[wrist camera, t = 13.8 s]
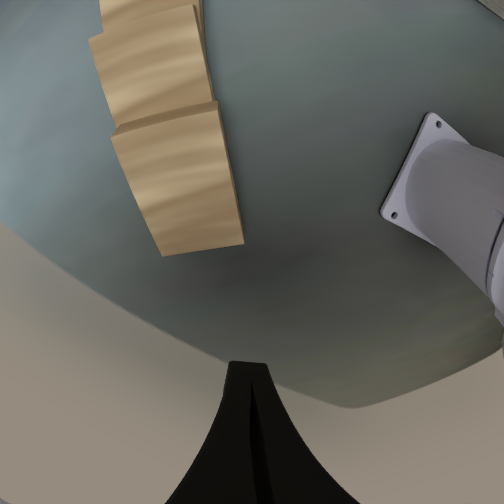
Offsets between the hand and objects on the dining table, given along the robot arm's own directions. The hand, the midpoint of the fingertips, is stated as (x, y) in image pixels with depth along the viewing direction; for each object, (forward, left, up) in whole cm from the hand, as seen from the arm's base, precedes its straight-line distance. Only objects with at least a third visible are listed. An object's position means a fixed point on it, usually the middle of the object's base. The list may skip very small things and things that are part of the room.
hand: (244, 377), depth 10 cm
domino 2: (+6, -5, -9) cm, 12 cm away
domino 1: (+3, 0, -9) cm, 9 cm away
